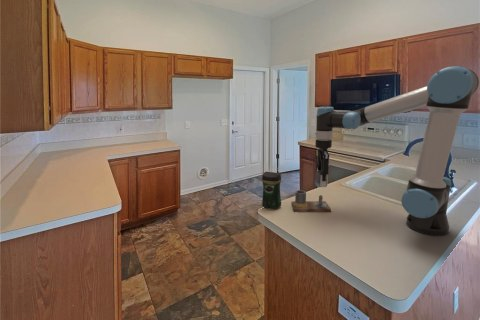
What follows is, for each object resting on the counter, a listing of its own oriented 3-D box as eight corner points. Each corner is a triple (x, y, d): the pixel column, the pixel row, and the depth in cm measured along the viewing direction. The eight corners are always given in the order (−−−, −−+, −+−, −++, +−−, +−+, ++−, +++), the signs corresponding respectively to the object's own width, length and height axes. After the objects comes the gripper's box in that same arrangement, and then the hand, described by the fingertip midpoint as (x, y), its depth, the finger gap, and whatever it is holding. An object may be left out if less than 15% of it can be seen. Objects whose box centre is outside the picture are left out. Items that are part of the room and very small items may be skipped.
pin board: (325, 203, 142) (326, 191, 141) (330, 211, 132) (331, 198, 131) (291, 204, 143) (291, 192, 142) (294, 211, 133) (294, 199, 132)
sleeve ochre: (308, 205, 137) (308, 192, 135) (300, 207, 134) (300, 194, 132) (300, 201, 141) (300, 189, 140) (292, 204, 138) (292, 191, 137)
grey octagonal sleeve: (329, 185, 134) (330, 172, 132) (321, 187, 131) (322, 174, 129) (320, 182, 139) (321, 169, 137) (312, 184, 136) (313, 171, 134)
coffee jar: (282, 205, 142) (283, 171, 138) (277, 210, 135) (278, 175, 131) (265, 202, 146) (266, 169, 142) (260, 207, 140) (259, 173, 135)
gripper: (311, 136, 139) (309, 179, 144) (320, 142, 120) (318, 191, 126) (326, 136, 138) (324, 179, 144) (337, 142, 120) (334, 191, 125)
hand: (321, 184), depth 135 cm, fingers closed on grey octagonal sleeve, 6 cm apart
